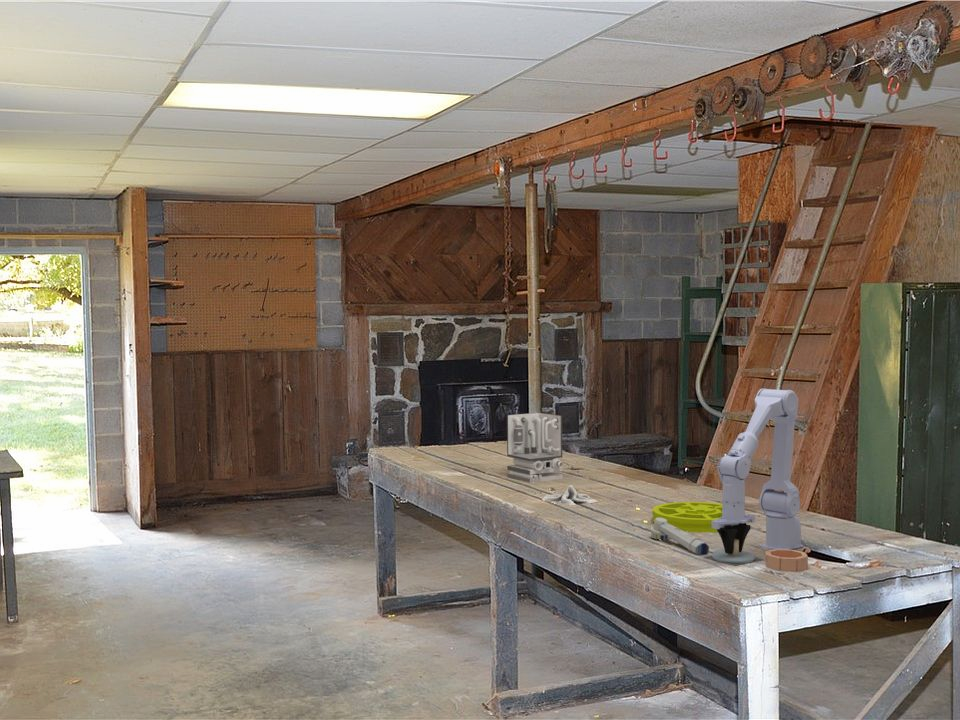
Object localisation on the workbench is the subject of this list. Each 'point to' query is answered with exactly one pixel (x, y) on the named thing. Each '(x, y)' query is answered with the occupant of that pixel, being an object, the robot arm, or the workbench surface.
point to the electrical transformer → (534, 446)
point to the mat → (733, 564)
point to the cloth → (569, 497)
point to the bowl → (786, 560)
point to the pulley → (689, 515)
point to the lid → (734, 555)
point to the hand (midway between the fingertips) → (733, 552)
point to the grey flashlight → (678, 536)
